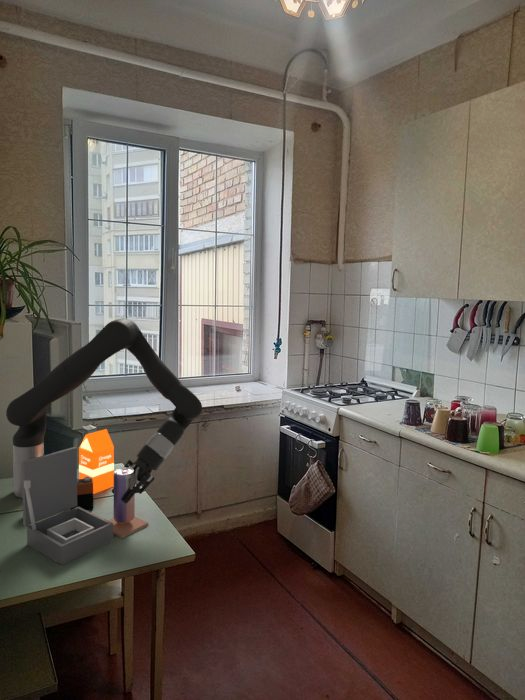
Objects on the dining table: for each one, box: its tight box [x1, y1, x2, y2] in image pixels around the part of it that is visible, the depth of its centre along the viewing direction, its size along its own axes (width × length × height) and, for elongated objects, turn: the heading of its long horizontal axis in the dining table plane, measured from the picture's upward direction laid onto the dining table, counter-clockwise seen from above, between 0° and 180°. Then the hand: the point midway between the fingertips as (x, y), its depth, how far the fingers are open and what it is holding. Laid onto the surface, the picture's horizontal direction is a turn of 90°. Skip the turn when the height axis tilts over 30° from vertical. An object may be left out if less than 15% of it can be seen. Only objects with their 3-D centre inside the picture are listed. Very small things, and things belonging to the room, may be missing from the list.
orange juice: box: [78, 428, 115, 495], centre depth 174 cm, size 8×9×20 cm
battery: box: [69, 477, 94, 511], centre depth 158 cm, size 4×7×10 cm, turn 111°
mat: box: [107, 516, 149, 539], centre depth 149 cm, size 10×10×1 cm
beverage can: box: [113, 467, 136, 524], centre depth 148 cm, size 6×6×15 cm
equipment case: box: [22, 446, 114, 566], centre depth 138 cm, size 18×16×23 cm
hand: (118, 497), depth 147 cm, fingers closed on beverage can, 6 cm apart
